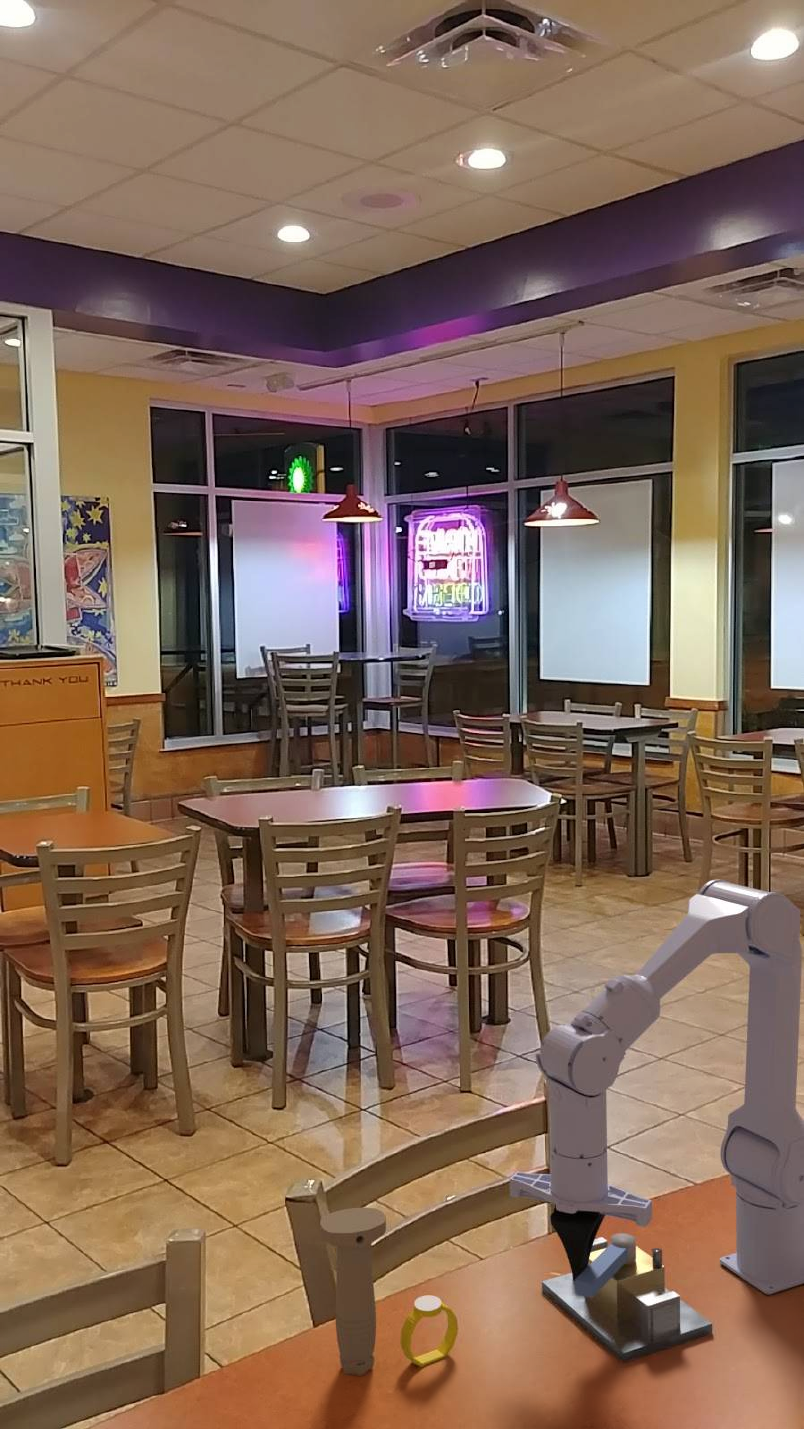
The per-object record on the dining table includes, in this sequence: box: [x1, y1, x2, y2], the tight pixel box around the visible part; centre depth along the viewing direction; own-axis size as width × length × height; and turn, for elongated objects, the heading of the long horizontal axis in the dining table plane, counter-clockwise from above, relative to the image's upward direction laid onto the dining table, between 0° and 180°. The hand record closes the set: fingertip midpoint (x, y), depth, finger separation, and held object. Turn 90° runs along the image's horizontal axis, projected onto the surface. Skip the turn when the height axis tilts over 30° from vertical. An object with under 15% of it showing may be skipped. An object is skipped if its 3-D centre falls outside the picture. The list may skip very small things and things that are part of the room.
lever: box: [575, 1232, 637, 1298], centre depth 125 cm, size 11×3×2 cm, turn 145°
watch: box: [400, 1294, 459, 1368], centre depth 121 cm, size 6×3×6 cm, turn 122°
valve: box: [541, 1237, 713, 1364], centre depth 128 cm, size 11×15×7 cm
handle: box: [319, 1207, 387, 1377], centre depth 119 cm, size 5×6×15 cm
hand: (580, 1277), depth 123 cm, fingers closed
